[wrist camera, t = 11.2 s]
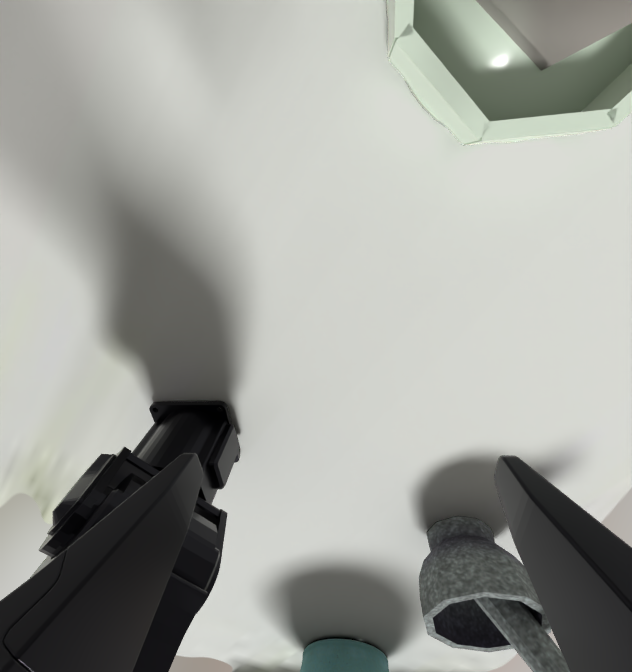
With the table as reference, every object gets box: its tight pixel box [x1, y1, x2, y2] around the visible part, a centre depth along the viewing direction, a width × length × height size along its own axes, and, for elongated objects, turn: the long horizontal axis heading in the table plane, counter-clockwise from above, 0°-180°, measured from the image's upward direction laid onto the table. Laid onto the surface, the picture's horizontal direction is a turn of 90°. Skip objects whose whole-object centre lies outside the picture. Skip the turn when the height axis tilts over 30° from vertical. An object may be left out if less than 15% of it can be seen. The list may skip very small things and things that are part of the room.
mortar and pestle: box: [419, 516, 570, 672], centre depth 26 cm, size 11×9×12 cm
